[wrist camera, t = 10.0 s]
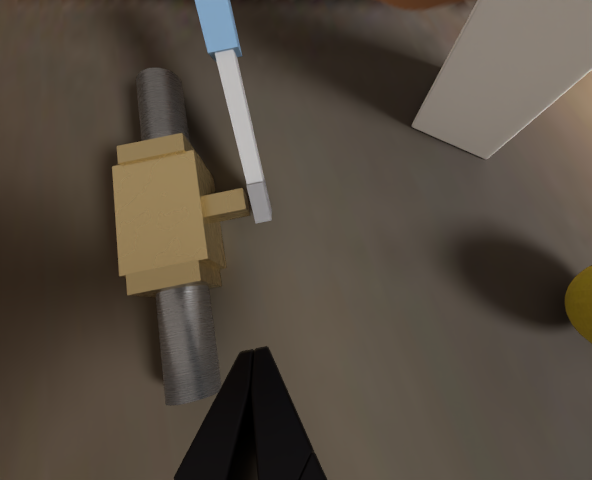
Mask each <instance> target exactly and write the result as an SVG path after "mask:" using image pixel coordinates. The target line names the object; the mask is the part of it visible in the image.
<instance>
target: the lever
mask: <svg viewBox="0 0 592 480" xmlns="http://www.w3.org/2000/svg"><path fill="white" fill-rule="evenodd" d="M195 3H196V7H197V11H198V15H199V19H200V23H201V27H202V31H203V35H204V39H205V43H206V47H207V51H208V53H209V55H210V56H211V57H212V58H213V59H214V60H215V62H217V65H218V69H219V73H220V77H221V81H222V85H223V89H224V93H225V97H226V101H227V105H228V109H229V113H230V117H231V122H232V126H233V130H234V134H235V138H236V142H237V146H238V150H239V154H240V158H241V162H242V166H243V170H244V174H245V179H246V183H247V185H246V186H247V190H248V194H249V198H250V202H251V206H252V210H253V214H254V218H255V222H256V223H261V222H266V221H270V220H272V209H271V205H270V200H269V196H268V192H267V187H266V183H265V178H264V175H263V171H262V167H261V162H260V158H259V153H258V149H257V144H256V140H255V135H254V131H253V127H252V122H251V118H250V113H249V109H248V104H247V100H246V96H245V91H244V87H243V82H242V78H241V73H240V69H239V64H238V60H237V57H241V56H242V53H241V48H240V44H239V39H238V35H237V30H236V26H235V21H234V17H233V12H232V7H231V3H230V0H195Z"/></svg>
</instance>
